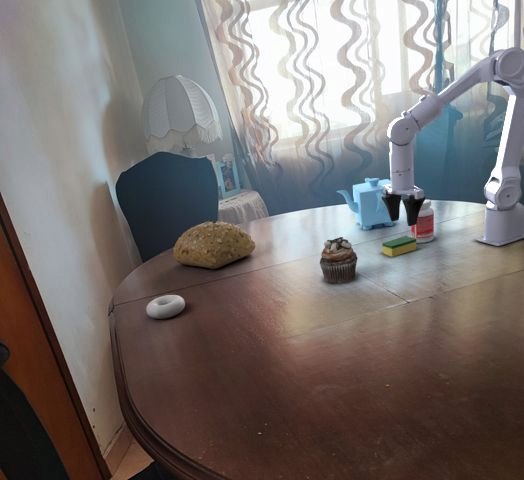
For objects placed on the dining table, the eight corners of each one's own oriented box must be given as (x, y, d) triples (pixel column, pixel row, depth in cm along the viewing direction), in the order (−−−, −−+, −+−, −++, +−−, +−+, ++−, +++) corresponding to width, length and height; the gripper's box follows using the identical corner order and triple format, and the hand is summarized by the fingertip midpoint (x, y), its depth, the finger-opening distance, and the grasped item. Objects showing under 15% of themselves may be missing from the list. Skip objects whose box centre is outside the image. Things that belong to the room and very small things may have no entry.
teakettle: (384, 234, 146) (382, 185, 139) (336, 230, 158) (332, 185, 151) (415, 216, 156) (415, 171, 149) (368, 214, 169) (365, 172, 162)
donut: (187, 302, 124) (150, 308, 124) (184, 290, 122) (147, 296, 122) (185, 317, 115) (145, 324, 115) (182, 304, 113) (141, 311, 113)
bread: (168, 266, 154) (158, 231, 149) (215, 246, 167) (207, 212, 161) (216, 275, 139) (207, 236, 133) (264, 251, 151) (257, 214, 145)
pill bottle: (438, 238, 133) (438, 199, 128) (423, 244, 131) (423, 205, 126) (420, 235, 138) (420, 197, 133) (406, 241, 136) (405, 203, 130)
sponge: (406, 246, 132) (406, 235, 131) (416, 249, 129) (416, 238, 127) (382, 253, 130) (382, 243, 129) (392, 256, 127) (391, 246, 125)
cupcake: (314, 278, 123) (310, 241, 118) (345, 268, 125) (342, 231, 120) (333, 288, 115) (329, 249, 110) (366, 276, 117) (363, 238, 112)
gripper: (372, 171, 123) (375, 222, 130) (406, 175, 111) (407, 231, 117) (395, 165, 125) (396, 215, 131) (430, 169, 113) (430, 224, 119)
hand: (403, 222), depth 125 cm, fingers open, 7 cm apart
